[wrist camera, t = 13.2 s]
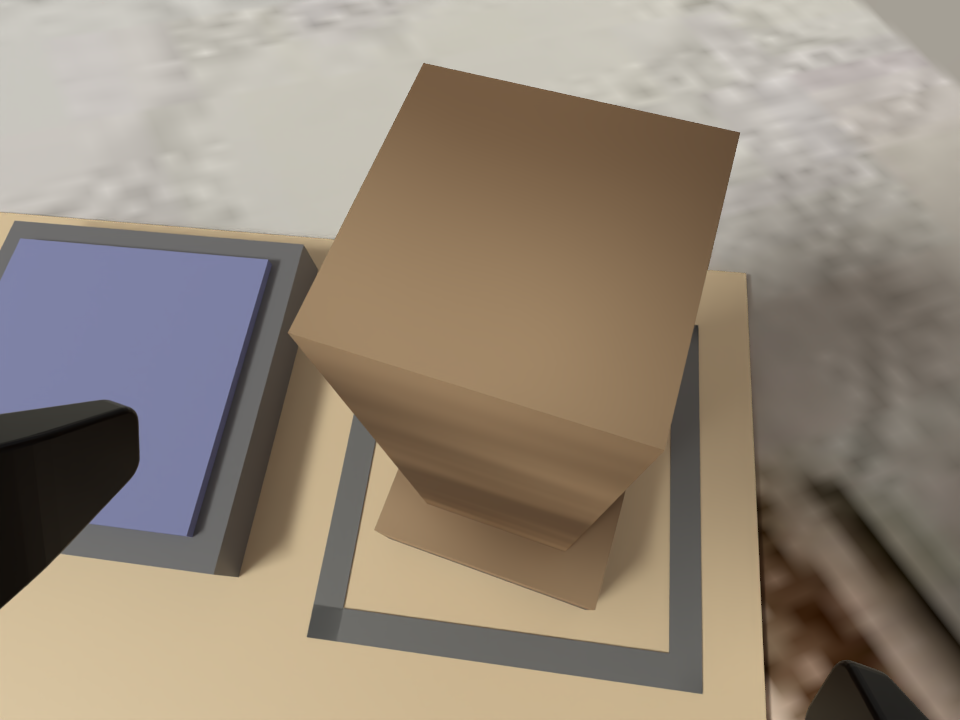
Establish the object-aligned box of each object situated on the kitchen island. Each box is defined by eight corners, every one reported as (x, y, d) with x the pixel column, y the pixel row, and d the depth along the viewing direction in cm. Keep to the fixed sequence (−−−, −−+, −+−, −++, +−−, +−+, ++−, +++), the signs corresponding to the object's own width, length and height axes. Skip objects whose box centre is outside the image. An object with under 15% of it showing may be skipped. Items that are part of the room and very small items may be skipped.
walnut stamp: (584, 610, 16) (769, 617, 4) (389, 538, 16) (139, 398, 5) (635, 415, 17) (853, 82, 6) (457, 361, 18) (376, -13, 7)
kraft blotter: (771, 907, 13) (775, 911, 13) (-265, 726, 16) (-277, 728, 15) (743, 276, 19) (746, 272, 19) (-6, 214, 22) (-11, 210, 21)
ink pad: (238, 577, 16) (207, 574, 15) (-84, 533, 17) (-148, 525, 15) (318, 269, 20) (300, 238, 18) (47, 246, 21) (7, 214, 19)
